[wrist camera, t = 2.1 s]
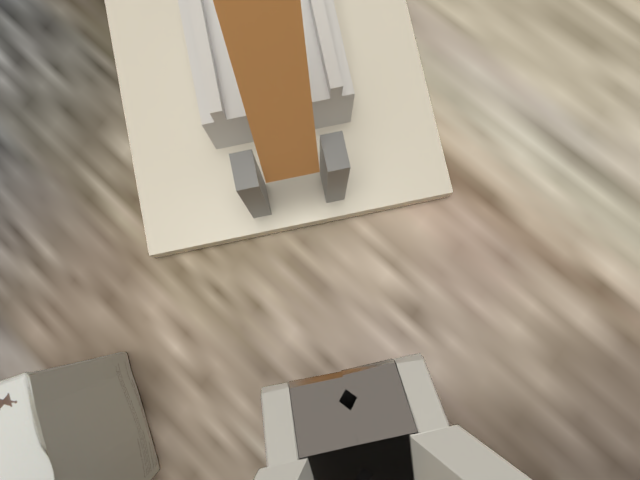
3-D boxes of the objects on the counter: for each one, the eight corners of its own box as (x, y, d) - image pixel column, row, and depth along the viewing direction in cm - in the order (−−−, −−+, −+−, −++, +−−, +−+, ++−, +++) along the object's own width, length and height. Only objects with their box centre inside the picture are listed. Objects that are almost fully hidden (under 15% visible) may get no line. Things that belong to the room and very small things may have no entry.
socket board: (376, -96, 44) (394, -231, 33) (448, 196, 41) (493, 152, 30) (102, -43, 43) (31, -162, 33) (155, 258, 41) (96, 234, 30)
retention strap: (317, 162, 34) (320, 171, 33) (264, 173, 33) (266, 183, 33) (281, -148, 17) (285, -133, 17) (177, -127, 17) (180, -113, 17)
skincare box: (43, 377, 40) (-121, 409, 25) (133, 348, 40) (23, 363, 25) (77, 506, 38) (-75, 620, 24) (169, 475, 39) (75, 569, 24)
